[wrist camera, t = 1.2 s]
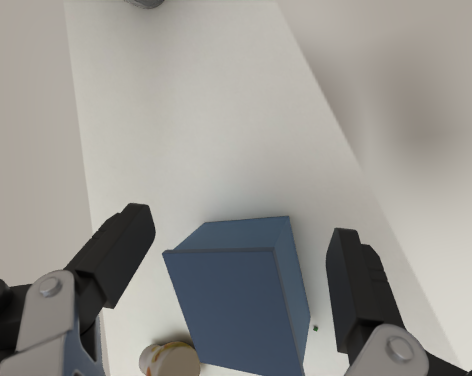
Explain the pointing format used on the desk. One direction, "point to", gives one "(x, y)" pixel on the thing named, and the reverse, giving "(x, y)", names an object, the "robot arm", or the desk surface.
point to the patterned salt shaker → (169, 360)
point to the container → (243, 295)
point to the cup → (145, 3)
